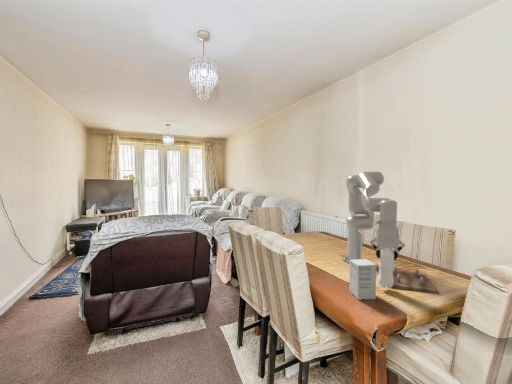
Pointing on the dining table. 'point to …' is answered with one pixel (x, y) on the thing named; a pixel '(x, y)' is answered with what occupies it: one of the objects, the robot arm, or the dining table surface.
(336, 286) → the dining table surface
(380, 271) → the water bottle
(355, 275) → the supplement box
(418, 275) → the peg stand
